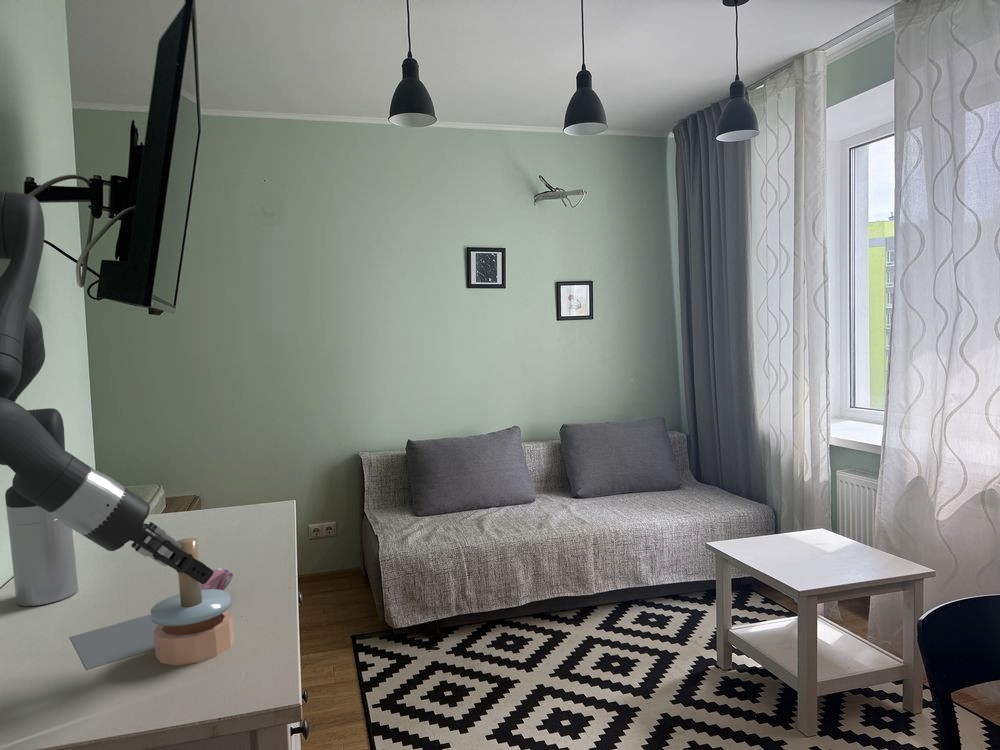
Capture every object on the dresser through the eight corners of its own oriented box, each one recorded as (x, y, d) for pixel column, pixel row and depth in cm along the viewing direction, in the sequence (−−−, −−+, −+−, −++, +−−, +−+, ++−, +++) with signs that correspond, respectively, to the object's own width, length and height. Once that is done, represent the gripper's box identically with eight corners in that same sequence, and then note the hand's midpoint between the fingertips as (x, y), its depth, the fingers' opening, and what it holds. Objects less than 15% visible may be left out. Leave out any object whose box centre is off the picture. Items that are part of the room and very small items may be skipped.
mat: (69, 639, 105) (69, 636, 105) (169, 611, 114) (169, 609, 114) (86, 672, 94) (86, 669, 94) (195, 638, 103) (194, 635, 103)
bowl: (149, 650, 100) (146, 623, 100) (220, 627, 106) (218, 602, 106) (168, 674, 92) (165, 645, 92) (243, 649, 99) (241, 622, 98)
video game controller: (192, 627, 111) (206, 590, 110) (168, 614, 112) (182, 576, 110) (227, 602, 121) (241, 567, 119) (205, 590, 121) (219, 555, 120)
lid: (142, 610, 99) (136, 542, 99) (217, 590, 106) (212, 525, 105) (162, 633, 91) (156, 558, 91) (242, 609, 98) (236, 539, 97)
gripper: (133, 493, 87) (239, 563, 96) (110, 477, 98) (207, 542, 107) (89, 544, 84) (202, 612, 93) (70, 523, 95) (173, 585, 104)
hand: (204, 574), depth 100 cm, fingers closed on lid, 2 cm apart
